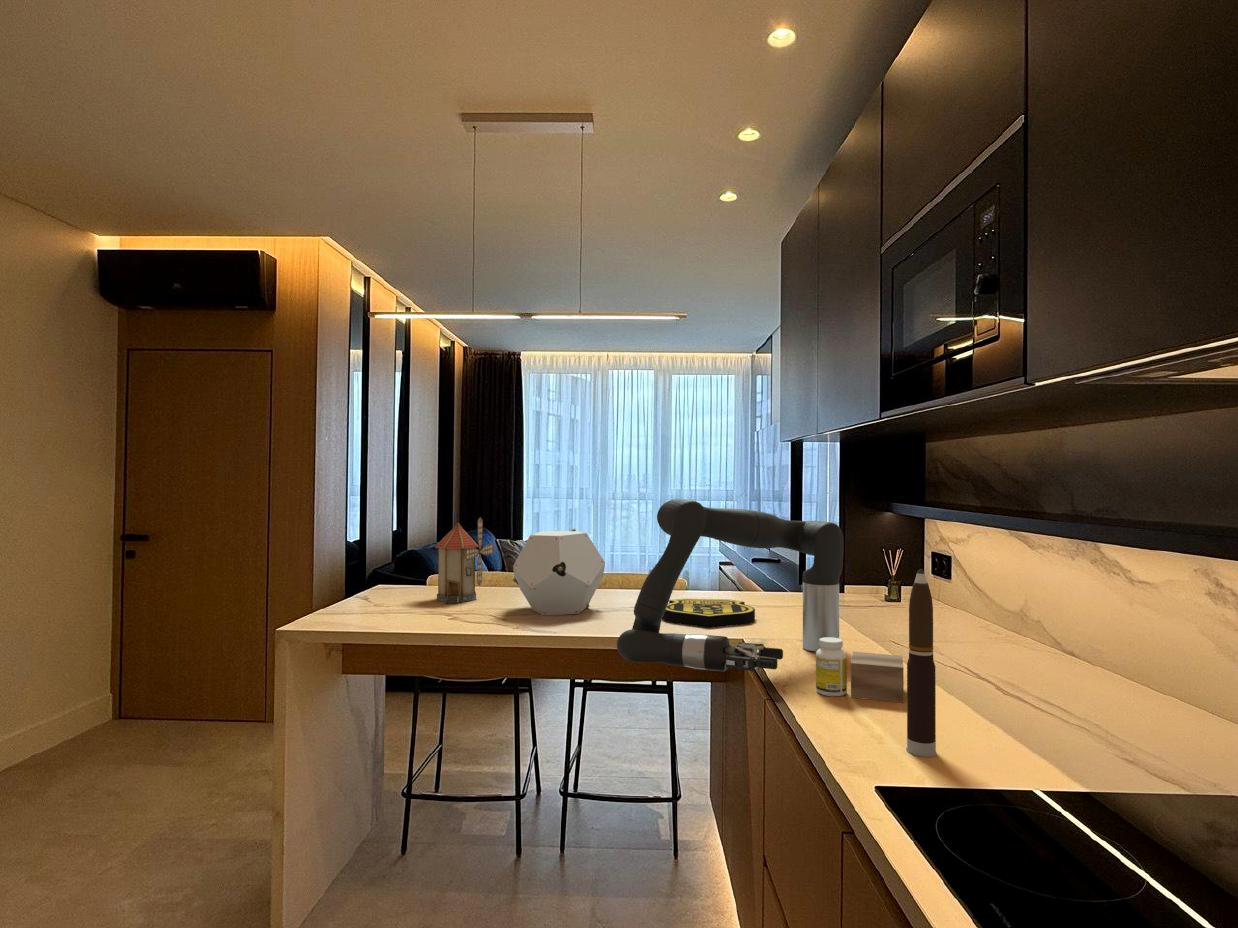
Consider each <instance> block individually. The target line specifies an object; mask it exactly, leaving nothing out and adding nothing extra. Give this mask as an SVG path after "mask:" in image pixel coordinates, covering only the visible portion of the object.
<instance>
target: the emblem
mask: <svg viewBox="0 0 1238 928" xmlns="http://www.w3.org/2000/svg"><path fill="white" fill-rule="evenodd" d="M661 621H664V622H667V623H673V624H679V625H686V626H691V627H692V626H693V627H699V628H706V629H711V628H723V627H731V626H734V627H735V626H742V625H748V624H752V623H755V621H756V609H755V607H752V606H750V605H747V604H746V603H745V601H742V600H735V599H726V598H725V599H721V598H720V599H718V598H717V599H716V598H715V599H714V598H677V599H669V602H668V605H667V607H666V610H665V613H664V615H663V618H662V620H661Z"/></svg>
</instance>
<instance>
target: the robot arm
mask: <svg viewBox="0 0 1238 928" xmlns="http://www.w3.org/2000/svg"><path fill="white" fill-rule="evenodd" d="M656 520H657V524H658V526H659V527H660V530H662V531H663V532H664V533H665V534H667V535H669V539H668V542H667V546H666V548H665V550H664V552H663V554H662V555H661V557H660V558H659V560H658V561H657V563H656V564H654V567H653V568H652V569H651V571H650V572H649V573H648V575H647V576H646V578H645V580H644V582H643V583H642V586H641V589H640V591H639V594H638V596H637V598H636V602H635V604H634V607H633V615H634V621H633V623H632V624H633V625H632V627H631V629H628V630H624V631H623V632H622V633H621V634H620V635H619V637H618V638H617V641H616V650H617V651H618V654H619V655H620V656H621V657H622V658H623V659H624V660H627V661H628V662H629V661H630V662H635V663H643V662H645V663H661V664H664V665H668V666H676V667H686V668H691V669H694V670H705V671H715V672H724V673H725V672H726V671H727V670H728V669H731V670H740V671H750V672H754V671H755V670H758V669H767V670H777V668H778V660H782V659H783V658H784V650H783V648H777V647H776V648H775V647H766V645H765V644H764V643H754V642H753V643H752V642H751V643H750V642H741V641H740V642H737V644H736V645H731V644H730V639H729V637H727V636H724V635H711V634H702V633H701V634H699V633H697V634H695V633H693V634H686V633H685V634H684V633H675V632H674V633H671V632H670V633H661V632H660V630H661V624H662V621H663V620H662V618H663V615H664V613H665V610H666V607H667V605H668V603H669V600H671V597H672V594H673V591H674V588H675V586H676V584H677V582H678V579H679V577H680V575H681V573H682V571H683V569H684V568H685V565H686V564H687V562H688V560H689V558H690V556H691V555H692V552H693V550H694V549H695V547H696V544H697V543H698V541H699V540H700V538H701V537H703V538H709V539H713V540H715V541H716V540H717V541H720V542H724V543H728V544H731V545H736V546H740V547H746V548H752V549H776V548H782V549H788V550H792V551H795V552H798V553H802V554H805V555H809V556H813V564H812V566H811V567H810V568H808V569H805V570H804V571H803V573H802V648H803V650H806V651H810V652H814V653H816V652H817V650H818V649H820V648H821V647H820V646H819V639H820V638H824V637H833V638H839V639H840V577H841V574H842V571H843V566H844V565H843V564H844V561H843V560H844V546H845V545H844V544H845V543H844V535H843V532H842V529H841V527H840V526H839V525H838V524H836V523H834V522H831V521H823V520H822V521H820V520H787V519H783V518H782V517H781V518H780V517H778V516H776V515H774V514H772V513H767V512H764V511H760V510H759V511H757V510H751V509H745V508H744V509H743V508H726V507H725V508H724V507H722V508H719V507H718V508H717V507H716V508H715V507H707V506H703V505H702V503H700V502H699V501H696V500H693V499H685V498H684V499H683V498H674V499H670V500H667V501H666V502H664V503H663V504H662V505H661V506H660V507H659V508H658V511H657V514H656Z"/></svg>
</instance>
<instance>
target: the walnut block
mask: <svg viewBox="0 0 1238 928" xmlns="http://www.w3.org/2000/svg"><path fill="white" fill-rule="evenodd" d="M851 653H852V654H851V659H850V698H854V699H862V700H874V701H881V702H890V703H900V704H901V703H902V704H904V695H905V693H904V690H905V689H904V687H905V686H904V675H905V674H904V668H905V667H904V662H903V656H902V655H896V654H884V653H876V652H875V653H874V652H873V653H872V652H863V651H862V652H861V651H852V652H851Z"/></svg>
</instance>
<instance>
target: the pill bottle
mask: <svg viewBox="0 0 1238 928" xmlns="http://www.w3.org/2000/svg"><path fill="white" fill-rule="evenodd" d="M843 641H844V640H843V639H841V638H840V637H839V638H833V637H824V638H820V639H819V646H820V647H821V648H820V649H818V650H817V652H815V690H816V692H817V693H819V694H820V695H823V696H826V697H827V696H828V697H841V696H845V695H846V694H847V689H848V687H847V684H848V682H847V681H848V680H847V679H848V677H847V676H848V675H847V673H848V671H847V670H848V668H847V665H848V664H847V662H848V661H847V652H845V651H844V650H843V646H844V643H843Z"/></svg>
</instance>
